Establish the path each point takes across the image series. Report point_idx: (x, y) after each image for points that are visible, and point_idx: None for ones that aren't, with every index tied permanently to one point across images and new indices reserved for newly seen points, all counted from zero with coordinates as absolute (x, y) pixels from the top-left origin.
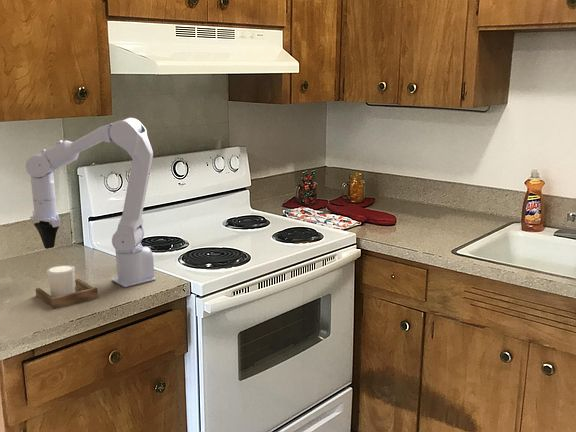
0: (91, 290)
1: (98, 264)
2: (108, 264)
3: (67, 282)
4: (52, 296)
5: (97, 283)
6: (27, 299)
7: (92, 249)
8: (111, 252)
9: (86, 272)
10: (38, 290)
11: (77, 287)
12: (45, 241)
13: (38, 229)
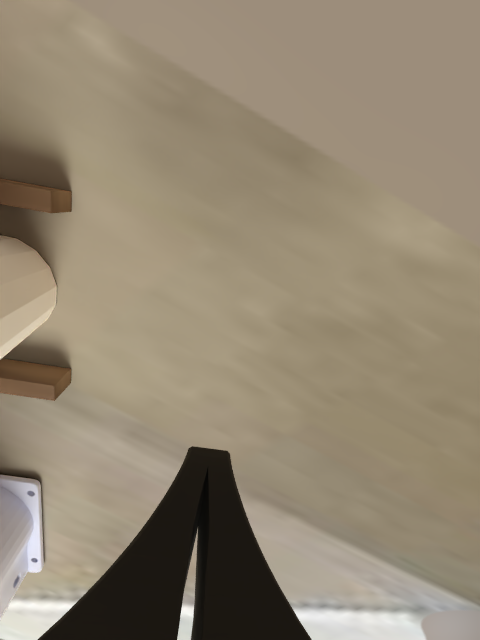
0: None
1: None
2: None
3: None
4: (2, 235)
5: (49, 435)
6: (54, 134)
7: (425, 605)
8: (335, 618)
9: None
10: (7, 185)
11: (51, 366)
12: (166, 495)
13: (221, 625)
